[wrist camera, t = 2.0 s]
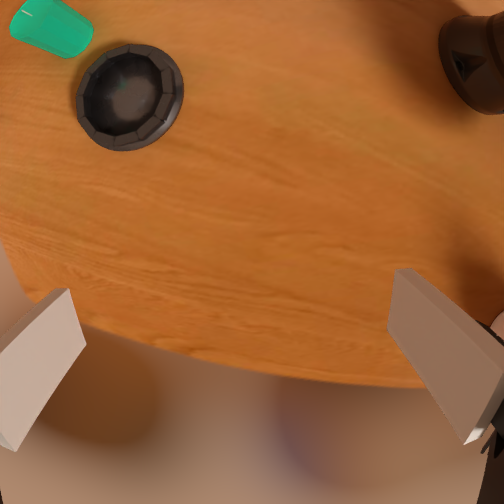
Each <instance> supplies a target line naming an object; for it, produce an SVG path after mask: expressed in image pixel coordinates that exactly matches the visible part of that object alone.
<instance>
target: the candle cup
mask: <svg viewBox="0 0 504 504" xmlns="http://www.w3.org/2000/svg"><path fill="white" fill-rule="evenodd" d="M86 71H87V72H85V74H84V76H83V78H82V81H81V83H80V86H79V88H78V91H77V94H76V95H78V96H76V108H77V119H78V122H79V123H80V124H81V126H82V127H83V129H84V130H85V131H86V133H87V134H88V135H89V137H90V138H91V139H92V140H93V141H95V142H96V143H97V144H99V145H100V146H102V147H104V148H107V149H110V150H114V151H132V150H137V149H140V148H143V147H146V146H148V145H150V144H152V143H153V142H155V141H156V140H158V139H159V138H160V137H162V136H163V135H164V134H165V133H166V132H167V131H168V129H169V128H170V127H171V126H172V124H173V123H174V121H175V120H176V118H177V116H178V114H179V112H180V109H181V106H182V102H183V97H184V83H183V78H182V75H181V72H180V70H179V68H178V66H177V64H176V63H175V62H174V61H173V59H172V58H171V57H170V56H169V55H168V54H166V53H165V52H163V51H162V50H160V49H158V48H155V47H152V46H147V45H133V44H131V45H130V44H128V45H125V46H122V47H119V48H116V49H113V50H110V51H107V52H106V53H104V54H103V55H102V56H101V57H99V58H98V59H97V60H96V61H95V62H94V63H93V64H92V65H91V66H90V67H89V68H88V69H87V70H86Z"/></svg>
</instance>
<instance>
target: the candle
mask: <svg viewBox="0 0 504 504" xmlns="http://www.w3.org/2000/svg"><path fill="white" fill-rule="evenodd" d="M9 29H10V34H11V36H12V37H14V38H16V39H17V40H20V41H23V42H25V43H28V44H31V45H33V46H36V47H38V48H41V49H43V50H46V51H48V52H51V53H53V54H55V55H58V56H60V57H62V58H65V59H66V58H72V57H75V56H77V55H78V54H79V53H81V52H82V51H84V50H85V48H86V47H87V45H88V44H89V43H90V41H91V39H92V35H93V31H94V29H93V26H92V23H91V22H90V21H89V20H87V19H86V18H85V17H83V16H82V15H80V14H79V13H78V12H76V11H75V10H73V9H72V8H71V7H69V6H68V5H66V4H65V3H64V2H62V1H61V0H27V1H26V2H25V3H24V4H23V5H22V6H21V8H20V9H19V10H18V11H17V13H16V14H15V15H14V17H13V19H12V21H11V24H10V26H9Z"/></svg>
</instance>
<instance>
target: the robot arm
mask: <svg viewBox="0 0 504 504" xmlns="http://www.w3.org/2000/svg"><path fill="white" fill-rule="evenodd" d="M439 52H440V57H441V61H442V64H443V67H444V70H445V72H446V74H447V77H448V78H449V80H450V82H451V84H452V86H453V87H454V89H455V90H456V92H457V93H458V94H459V96H460V97H461V98H462V99H463V100H464V101H465V102H466V103H467V104H468V105H469V106H470V107H472V108H473V109H474V110H476V111H478V112H480V113H482V114H486V115H498V114H504V11H502V12H500V13H498V14H495V15H492V16H467V15H463V16H458V17H456V18H454V19H452V20H450V21H448V22H447V23H445V24H444V26H443V27H442V29H441V31H440V35H439ZM387 331H388V333H389V334H390V335H391V337H392V338H393V339H394V341H395V342H396V344H397V345H398V346H399V348H400V349H401V351H402V352H403V354H404V355H405V356H406V358H407V359H408V361H409V362H410V364H411V365H412V366H413V368H414V369H415V371H416V372H417V374H418V375H419V377H420V378H421V380H422V381H423V383H424V384H425V386H426V387H427V389H428V390H429V392H430V393H431V395H432V396H433V397H434V399H435V401H436V402H437V404H438V405H439V407H440V408H441V410H442V412H443V413H444V415H445V416H446V418H447V419H448V421H449V423H450V424H451V426H452V427H453V429H454V431H455V432H456V434H457V435H458V437H459V439H460V440H461V442H462V444H463V445H465V444H466V443H469V442H471V441H473V440H475V439H478V438H479V437H482V436H483V434H484V432H485V430H486V429H487V428H488V426H489V424H490V423H492V425H493V426H494V427H495V430H494V432H493V433H492V435H491V436H490V438H489V439H488V441H487V442H486V444H485V445H484V447H483V448H482V450H481V453H482V454H483V453H484V452H485V450H486V449H487V448H488V446H489V452H488V458H487V463H486V468H485V472H484V477H483V481H482V485H481V489H480V493H479V497H478V501H477V504H504V340H503V339H502V338H501V337H499V336H497V334H496V333H495V332H494V331H493V330H492V329H491V328H489V327H488V326H487V325H485V324H483V323H481V322H479V321H477V320H474V319H473V318H471V317H470V316H469V315H468V314H467V313H466V312H465V311H463V310H462V309H461V308H460V307H459V306H458V305H456V304H455V303H454V302H453V301H452V300H450V299H449V298H448V297H447V296H446V295H444V294H443V293H442V292H441V291H440V290H438V289H437V288H436V287H435V286H433V285H432V284H431V283H430V282H428V281H427V280H426V279H425V278H423V277H422V276H421V275H420V274H418V273H417V272H416V271H414V270H413V269H412V268H406V269H396V270H395V275H394V283H393V291H392V299H391V306H390V312H389V319H388V325H387ZM85 345H86V342H85V339H84V336H83V333H82V330H81V327H80V324H79V321H78V318H77V315H76V311H75V308H74V305H73V301H72V298H71V294H70V291H69V288H57V289H54V290H53V291H52V292H51V293H49V294H48V295H47V296H46V297H45V298H44V299H42V300H41V301H40V302H39V303H38V304H37V305H35V306H34V307H33V308H32V309H31V310H30V311H29V312H27V314H25V315H24V316H23V317H22V318H21V319H20V320H19V321H18V322H16V323H15V324H14V325H13V326H12V327H11V328H10V329H9V330H8V331H7V332H6V333H5V334H4V335H2V336H1V337H0V445H1V446H3V447H5V448H7V449H10V450H12V451H14V452H16V451H17V450H18V448H19V446H20V444H21V443H22V441H23V439H24V438H25V436H26V434H27V433H28V431H29V429H30V428H31V426H32V424H33V423H34V421H35V420H36V418H37V416H38V415H39V413H40V412H41V410H42V408H43V407H44V405H45V404H46V402H47V401H48V399H49V398H50V396H51V395H52V393H53V392H54V390H55V389H56V387H57V385H58V384H59V383H60V381H61V380H62V378H63V377H64V375H65V374H66V372H67V371H68V369H69V368H70V367H71V365H72V364H73V362H74V361H75V359H76V358H77V357H78V355H79V354H80V352H81V351H82V350H83V348H84V347H85ZM0 504H3V501H2V496H1V491H0Z"/></svg>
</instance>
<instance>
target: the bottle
mask: <svg viewBox="0 0 504 504" xmlns="http://www.w3.org/2000/svg"><path fill="white" fill-rule="evenodd" d="M490 328H491V329H492V330H493V331H494V332H495V333H496V334H497V336H499V337H501V338H502V339H503V340H504V311H503V312H501V313H500V314H499V315H498V316H497V318H496V319H495V320H494V322H493V323H492V325H491V327H490Z"/></svg>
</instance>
